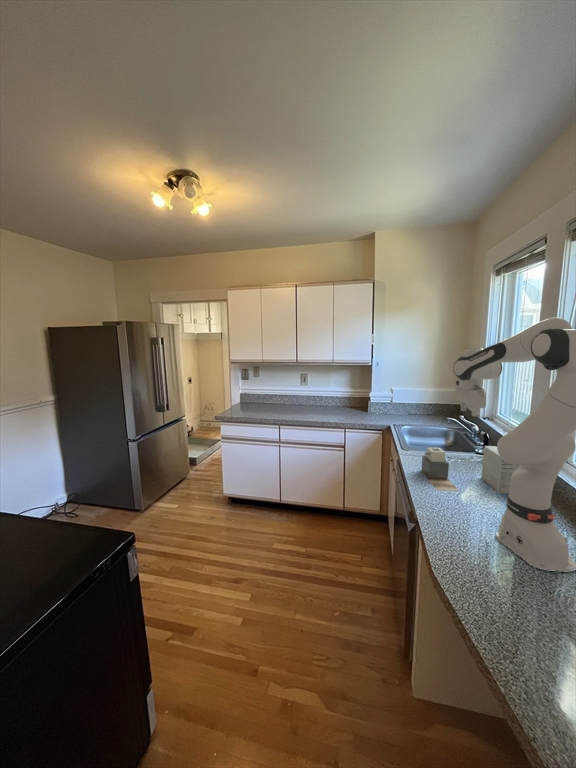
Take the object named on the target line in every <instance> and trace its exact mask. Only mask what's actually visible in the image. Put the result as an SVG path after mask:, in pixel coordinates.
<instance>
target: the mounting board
mask: <svg viewBox="0 0 576 768" xmlns="http://www.w3.org/2000/svg"><path fill="white" fill-rule="evenodd" d="M420 472H421V473H422V474H423V475H424V476H425V474H424V473H423V472H422V471H421V470H420ZM425 477H426V476H425ZM426 479H427V481H428V482H429V483H431V485H432V486H433V487H434V488H435V489H436V491H449V492H451V491H452V492H460V490H459V488H457V487H456V486H455V485H454V484H453V483H452V481H451V480H449V479H428V478H427V477H426Z"/></svg>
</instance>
